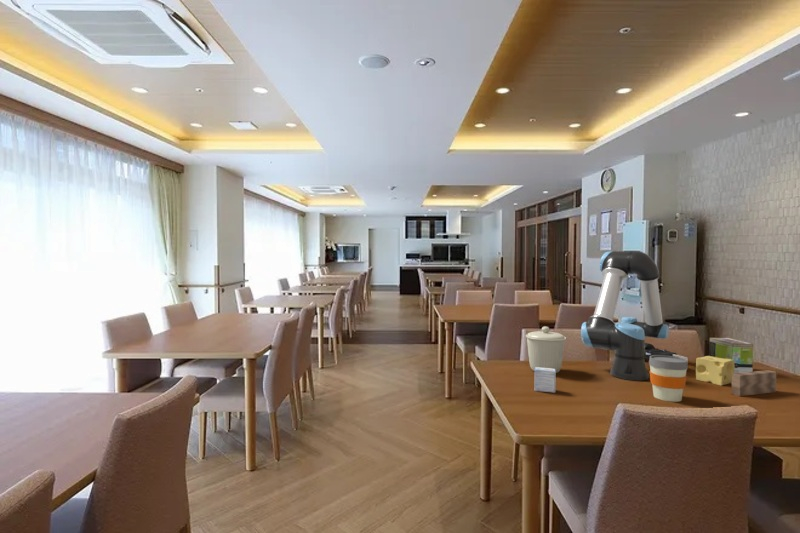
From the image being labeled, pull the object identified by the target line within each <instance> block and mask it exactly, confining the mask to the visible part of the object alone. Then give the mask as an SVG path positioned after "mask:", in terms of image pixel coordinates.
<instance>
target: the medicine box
mask: <svg viewBox="0 0 800 533" xmlns="http://www.w3.org/2000/svg"><path fill="white" fill-rule="evenodd" d="M556 374H557V373H556V371H555V369H552V368H540V367H535V371H534V391H535V392H545V393H556V376H557V375H556Z"/></svg>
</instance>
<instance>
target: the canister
mask: <svg viewBox="0 0 800 533" xmlns="http://www.w3.org/2000/svg"><path fill="white" fill-rule="evenodd" d="M525 338H526V344H527V352H528V360H529V366H530V369H531V370H532V371H534V372H535V367H540V368H552V369H555V371H556V374H557V373H559V372H560V371H561V369H562V364H563V357H564V348H565V342H566V340H567V337H566V336H564V335H563V334H562V333H559V332H555V331H550V327H549V326H542V327H541V331H539V330H537V331H531V332H528V333H526V334H525Z"/></svg>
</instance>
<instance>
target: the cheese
mask: <svg viewBox="0 0 800 533" xmlns="http://www.w3.org/2000/svg"><path fill="white" fill-rule="evenodd" d="M695 360H696V361H695V362H696V363H695V380H697V381H701V382H705V383H711V384H714V385H718V386H721V387H722V386H724V385H728V384H732V374H733V373H734V370H735V366H734V360H731V359H723V358H717V357H712V356H709V355H705V356H700V357H696V359H695Z"/></svg>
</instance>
